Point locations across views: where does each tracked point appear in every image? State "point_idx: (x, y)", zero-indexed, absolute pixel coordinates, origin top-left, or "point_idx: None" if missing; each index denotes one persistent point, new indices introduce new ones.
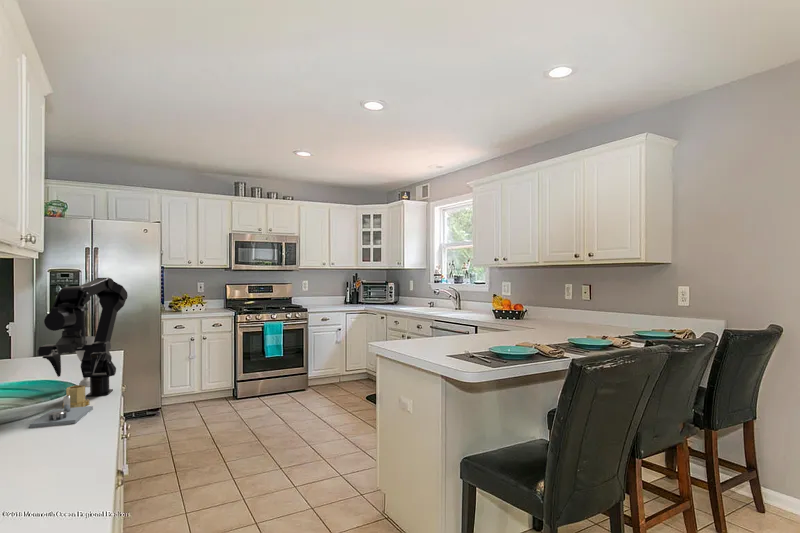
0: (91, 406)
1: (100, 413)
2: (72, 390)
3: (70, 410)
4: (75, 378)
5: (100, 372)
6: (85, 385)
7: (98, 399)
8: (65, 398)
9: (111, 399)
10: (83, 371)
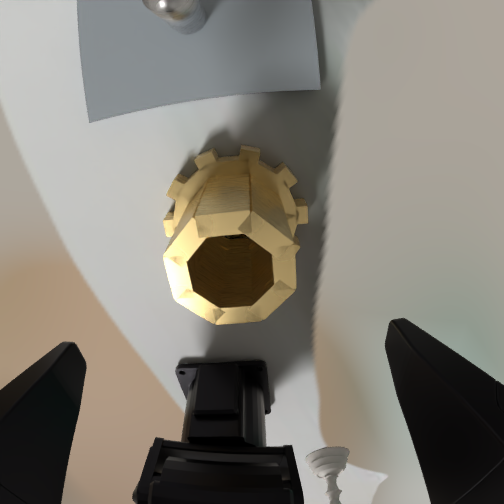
0: (91, 112)
1: (31, 45)
2: (228, 207)
3: (178, 38)
4: (373, 484)
5: (184, 458)
6: (325, 453)
7: (178, 311)
8: None
9: (110, 295)
10: (288, 472)
